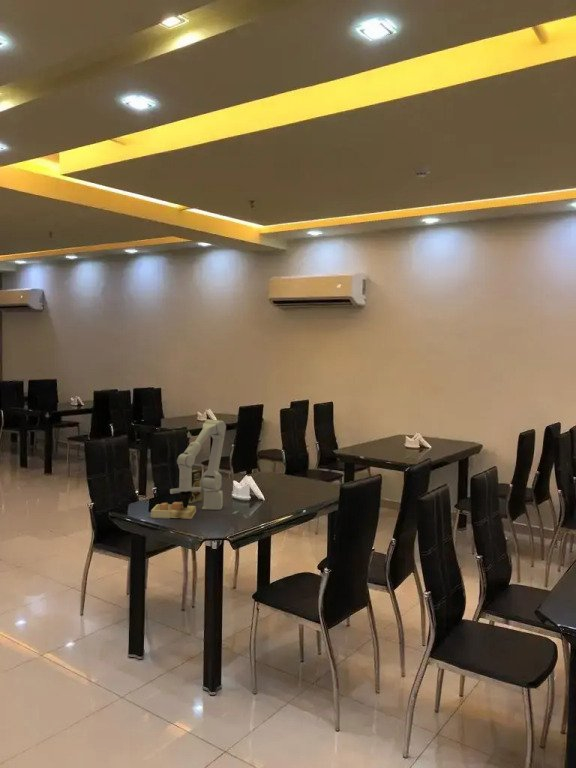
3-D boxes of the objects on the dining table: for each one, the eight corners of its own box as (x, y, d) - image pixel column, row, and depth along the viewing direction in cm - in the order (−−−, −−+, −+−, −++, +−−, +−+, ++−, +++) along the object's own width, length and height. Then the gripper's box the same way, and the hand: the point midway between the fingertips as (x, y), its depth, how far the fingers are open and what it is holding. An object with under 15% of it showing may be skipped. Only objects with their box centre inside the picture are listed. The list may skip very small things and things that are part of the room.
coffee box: (191, 503, 319) (191, 472, 318) (181, 502, 322) (181, 471, 322) (201, 500, 327) (202, 469, 326) (192, 498, 330) (192, 468, 330)
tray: (175, 511, 302) (175, 504, 301) (170, 518, 289) (170, 510, 289) (156, 511, 302) (157, 504, 301) (150, 518, 289) (150, 510, 289)
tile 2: (183, 507, 298) (183, 502, 298) (180, 509, 293) (180, 504, 293) (174, 507, 299) (174, 501, 298) (171, 509, 294) (171, 504, 294)
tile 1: (167, 502, 298) (162, 502, 298) (164, 504, 293) (159, 505, 294) (168, 511, 298) (163, 512, 298) (165, 514, 294) (160, 514, 294)
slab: (195, 512, 302) (196, 505, 301) (191, 518, 289) (191, 512, 288) (175, 511, 302) (175, 505, 302) (170, 518, 289) (170, 512, 289)
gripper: (197, 476, 301) (197, 504, 302) (168, 478, 295) (168, 507, 295) (202, 479, 295) (201, 507, 295) (172, 481, 288) (172, 510, 289)
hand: (185, 507), depth 295 cm, fingers closed
